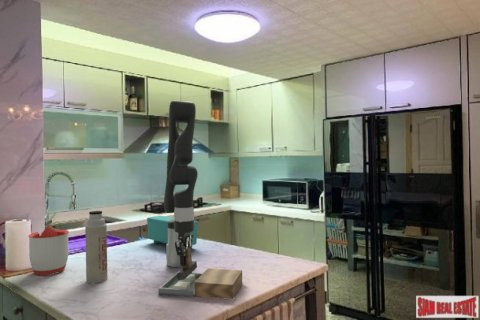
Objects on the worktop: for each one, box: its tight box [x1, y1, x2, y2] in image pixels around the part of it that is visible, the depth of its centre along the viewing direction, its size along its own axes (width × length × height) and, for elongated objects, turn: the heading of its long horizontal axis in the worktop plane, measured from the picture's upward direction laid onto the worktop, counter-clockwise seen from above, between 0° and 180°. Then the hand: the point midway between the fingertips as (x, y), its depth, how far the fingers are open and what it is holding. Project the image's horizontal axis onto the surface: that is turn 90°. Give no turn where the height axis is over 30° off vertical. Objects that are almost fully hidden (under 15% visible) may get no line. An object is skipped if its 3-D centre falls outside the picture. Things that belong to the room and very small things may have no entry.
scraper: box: [176, 247, 198, 280], centre depth 132 cm, size 3×14×10 cm, turn 168°
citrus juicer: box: [28, 226, 69, 277], centre depth 153 cm, size 16×17×20 cm
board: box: [194, 267, 243, 300], centre depth 129 cm, size 14×16×5 cm
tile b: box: [180, 274, 195, 284], centre depth 136 cm, size 4×4×2 cm
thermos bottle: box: [84, 210, 109, 284], centre depth 141 cm, size 8×8×28 cm
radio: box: [146, 215, 199, 246], centre depth 194 cm, size 34×10×15 cm, turn 49°
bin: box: [157, 271, 204, 299], centre depth 132 cm, size 13×18×2 cm
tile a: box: [174, 281, 190, 290], centre depth 128 cm, size 4×4×2 cm
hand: (184, 263), depth 132 cm, fingers closed on scraper, 3 cm apart
